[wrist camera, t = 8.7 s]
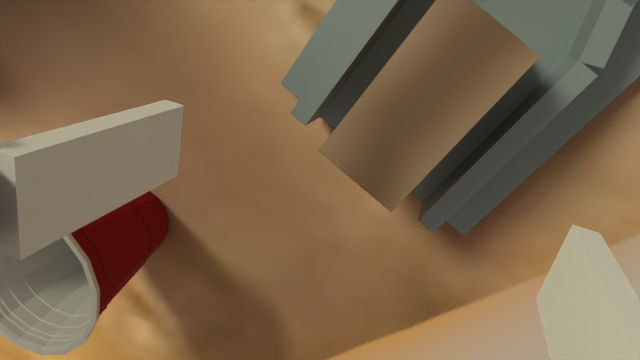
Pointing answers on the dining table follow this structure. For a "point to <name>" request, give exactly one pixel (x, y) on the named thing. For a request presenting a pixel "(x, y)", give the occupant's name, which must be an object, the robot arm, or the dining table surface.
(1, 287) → the plastic cup
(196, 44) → the dining table surface
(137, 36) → the dining table surface
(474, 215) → the grey grooved base
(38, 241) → the robot arm
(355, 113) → the brown rectangular block
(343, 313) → the dining table surface
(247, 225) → the dining table surface
